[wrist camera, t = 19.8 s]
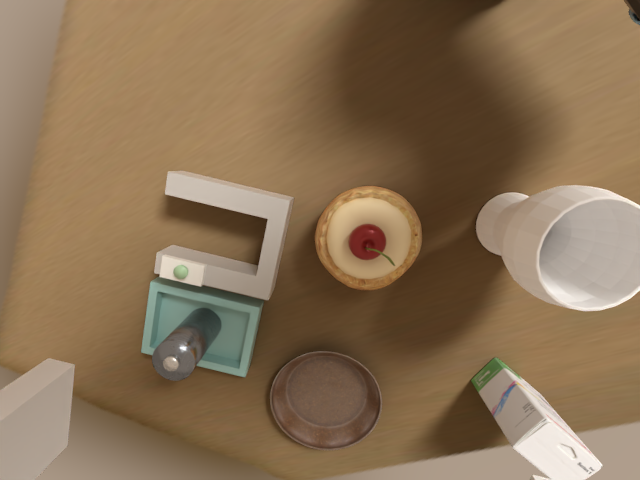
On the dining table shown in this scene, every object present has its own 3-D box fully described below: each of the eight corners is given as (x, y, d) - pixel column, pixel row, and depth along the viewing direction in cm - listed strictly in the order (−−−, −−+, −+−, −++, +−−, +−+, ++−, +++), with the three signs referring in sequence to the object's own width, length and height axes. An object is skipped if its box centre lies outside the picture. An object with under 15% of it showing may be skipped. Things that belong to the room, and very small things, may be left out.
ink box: (468, 379, 47) (510, 449, 36) (495, 355, 46) (548, 418, 35) (513, 417, 48) (569, 497, 37) (541, 393, 47) (607, 467, 36)
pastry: (346, 167, 43) (348, 164, 34) (431, 213, 43) (454, 222, 34) (301, 252, 45) (291, 269, 36) (382, 295, 45) (392, 323, 36)
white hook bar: (183, 170, 43) (163, 171, 38) (294, 197, 43) (288, 201, 38) (169, 263, 46) (149, 275, 41) (274, 288, 46) (266, 304, 41)
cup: (483, 280, 44) (555, 337, 30) (449, 204, 42) (508, 226, 28) (566, 243, 43) (686, 285, 28) (535, 163, 41) (645, 163, 26)
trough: (160, 275, 46) (150, 281, 44) (264, 300, 46) (259, 307, 44) (150, 342, 48) (141, 352, 46) (249, 366, 48) (245, 377, 46)
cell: (189, 304, 46) (151, 340, 37) (224, 312, 46) (194, 350, 37) (184, 335, 47) (146, 378, 38) (218, 343, 47) (188, 388, 38)
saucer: (255, 407, 50) (251, 420, 47) (303, 323, 47) (301, 332, 44) (347, 452, 51) (347, 468, 48) (399, 372, 48) (403, 384, 45)
